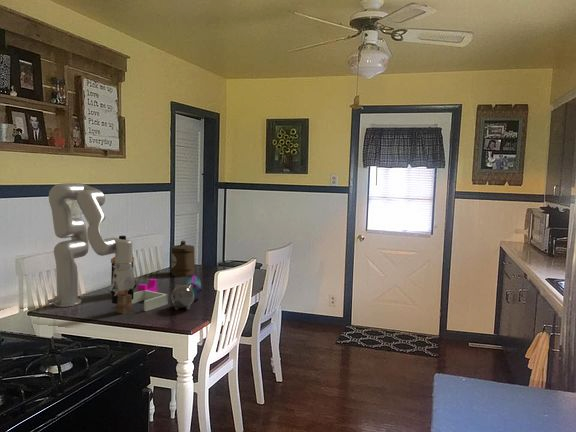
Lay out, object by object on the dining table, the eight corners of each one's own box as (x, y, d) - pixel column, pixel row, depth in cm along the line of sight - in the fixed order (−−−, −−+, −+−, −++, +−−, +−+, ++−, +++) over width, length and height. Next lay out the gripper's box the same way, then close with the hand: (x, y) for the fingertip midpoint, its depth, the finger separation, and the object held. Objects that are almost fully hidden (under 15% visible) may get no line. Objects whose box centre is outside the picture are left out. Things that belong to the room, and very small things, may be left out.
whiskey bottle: (119, 291, 268) (119, 234, 265) (135, 292, 266) (135, 235, 263) (109, 295, 258) (108, 236, 255) (125, 297, 256) (125, 237, 253)
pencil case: (201, 301, 253) (201, 283, 253) (184, 301, 252) (184, 283, 251) (201, 291, 274) (201, 274, 273) (185, 291, 272) (185, 274, 271)
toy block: (149, 300, 251) (149, 285, 251) (138, 299, 252) (138, 285, 252) (161, 292, 266) (161, 279, 265) (150, 292, 267) (150, 278, 266)
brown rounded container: (172, 271, 323) (173, 239, 321) (195, 271, 325) (195, 239, 323) (169, 276, 308) (170, 242, 306) (193, 276, 310) (193, 242, 308)
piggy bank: (195, 303, 247) (195, 281, 246) (193, 312, 232) (193, 289, 231) (172, 304, 246) (173, 281, 245) (169, 312, 231) (169, 289, 230)
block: (123, 313, 227) (123, 297, 227) (116, 312, 230) (116, 295, 229) (131, 311, 232) (131, 294, 231) (124, 309, 234) (124, 293, 233)
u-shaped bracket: (145, 311, 232) (145, 301, 232) (121, 305, 240) (121, 296, 239) (167, 304, 245) (168, 294, 245) (144, 299, 253) (144, 289, 253)
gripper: (114, 270, 219) (113, 306, 221) (142, 264, 235) (142, 298, 236) (103, 267, 223) (102, 303, 225) (131, 262, 238) (130, 296, 240)
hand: (122, 301), depth 230 cm, fingers open, 9 cm apart
